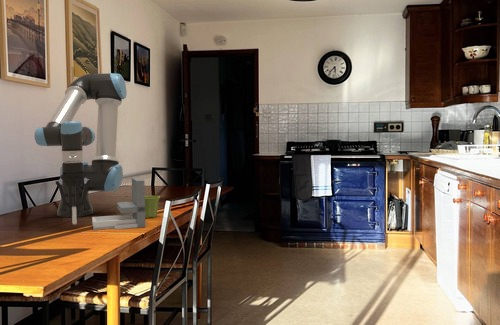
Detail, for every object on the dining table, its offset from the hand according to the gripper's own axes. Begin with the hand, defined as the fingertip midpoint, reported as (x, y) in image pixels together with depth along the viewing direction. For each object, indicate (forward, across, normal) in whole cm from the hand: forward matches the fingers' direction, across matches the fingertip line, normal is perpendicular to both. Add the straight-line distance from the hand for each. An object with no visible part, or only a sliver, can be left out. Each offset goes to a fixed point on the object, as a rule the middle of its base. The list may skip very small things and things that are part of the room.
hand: (74, 223), depth 190 cm
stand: (+2, +20, 0) cm, 20 cm away
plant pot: (+2, +31, +14) cm, 34 cm away
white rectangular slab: (+2, +15, 0) cm, 15 cm away
